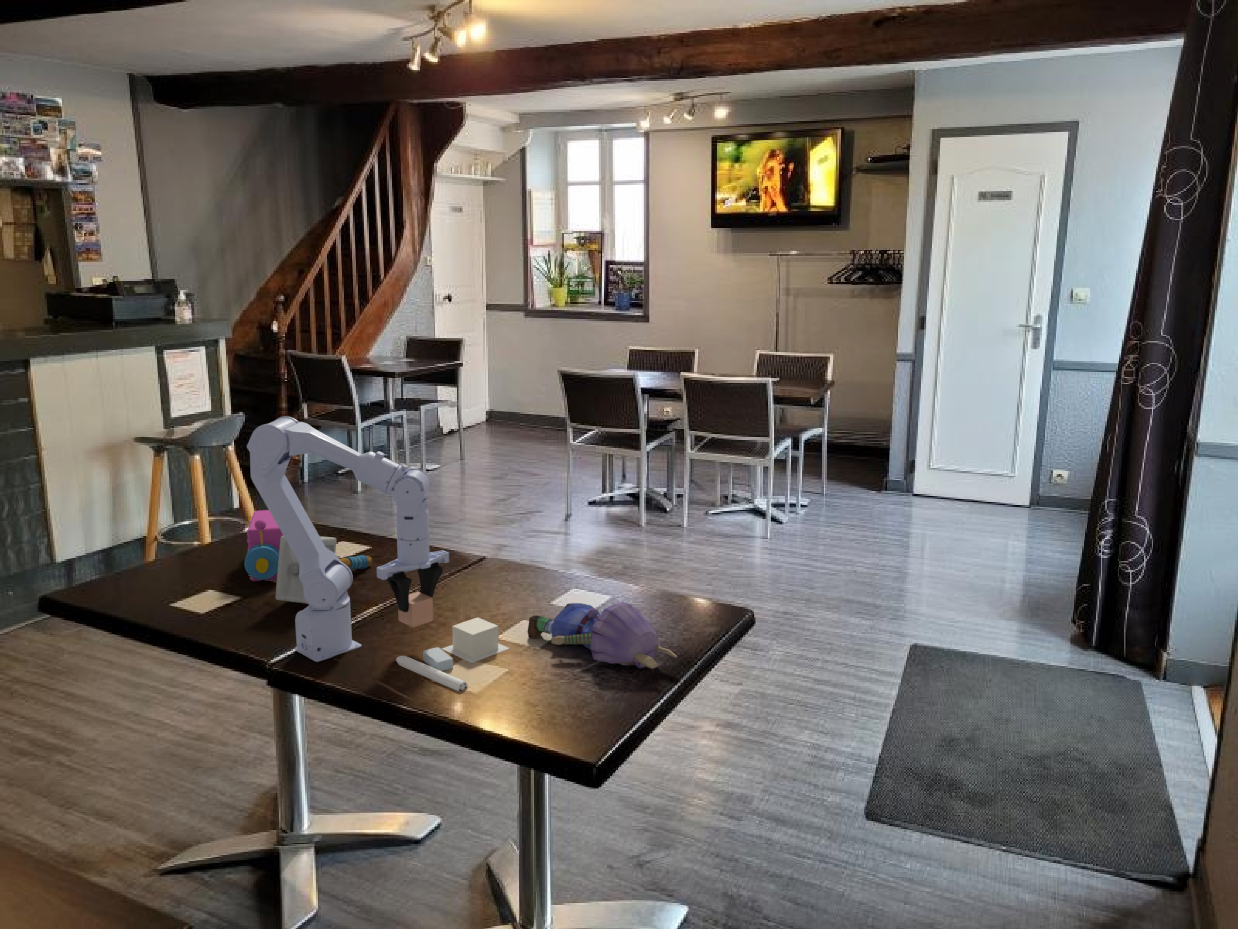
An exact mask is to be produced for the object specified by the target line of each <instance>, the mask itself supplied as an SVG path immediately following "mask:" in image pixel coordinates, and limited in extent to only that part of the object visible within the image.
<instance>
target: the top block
mask: <svg viewBox="0 0 1238 929" xmlns="http://www.w3.org/2000/svg"><path fill="white" fill-rule="evenodd" d="M433 598H434V597H433ZM433 598H432V597H430V596H427V595H425V594H422V593H421V591H415V592H412V593H409V609H408V612H403V611H400V610H399V608H398V607H397V610H398V612H397V613H398V621H399V622H401V623H402V624H405V625H407V626H409V627H410V628H411V627H412V628H415V627H417V626H421V625H425V624H428V623H431V622H434V606H433V603H434V602H433Z"/></svg>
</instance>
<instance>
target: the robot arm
mask: <svg viewBox="0 0 1238 929" xmlns="http://www.w3.org/2000/svg"><path fill="white" fill-rule="evenodd" d="M246 448H247V450H248V451H249V461H250V463H249V464H250V466H249V467H250V469H249V470H250V479H251V480H252V483H253V486H254V487H255V488H256V490H257V491H258V493H259V495H260V497H261V499H262V500H263V502H264V504H265V506H266V507H267V510H269V511H270V513H271V514H272V516H273V518H274V520H275V521H276V523H277V525H278V527H279V528H280V530H281V532H282V534H283V535H284V537H285V539H286V541H287V542H288V544H289V546H290V548H291V549H292V551H293V553H294V555H295V556H296V558H297V560H298V562H299V565H300V567H299V579H300V581H301V582H302V584H303V589H304V597H305V599H306V601H307V602H308V604H307V605H308V606H307V607H305V608H304V609H302V610H299V611H298V612H297V613H296V614H295V618H294V622H295V623H294V625H295V626H294V627H295V638H296V639H295V641H296V646H295V648H294V651H296V652H298V653H299V654H302V655H303V656H305V657H306V658H308V659H309V660H312V661H313V662H315V663H319V662H321V661H325V660H328V659H330V658H333V657H336V656H338V655H342V654H343V653H344V654H345V653H346V652H350V651H352V650H356V649H359V648H362V646H363V645H362V644H361V643H359V642H358V641H355V640H353V637H352V632H353V631H352V620H351V619H352V618H351V616H352V614H351V598H350V595H349V594H348V590H349V589H350V588H351V586H352V584H353V581H354V580H353V579H354V575H353V572H352V570H350V569H349V567H348V566H347V565H345V564H344V563H342V562H341V561H340V560H339V559H340V558H339V557H338V556H337V554H336V552H335V553H334V552H332V551H330V550H328V549H327V548H326V547H325V545H324V543H323V542H322V540H321V538H320V535H319V533H318V531H317V529H316V527H315V526H314V524H313V522H312V521H311V519H310V517H309V515H308V513H307V511H306V510H305V508H304V506H303V505H302V503H301V501H300V499H299V497H298V496H297V494H296V492H295V490H294V488H293V487H292V485H291V483H290V481H289V479H288V478H287V476H286V471H287V468H288V467H289V466H288V465H289V464H290V463H289V462H290V460H291V458H292V457H293V456H299V455H305V454H312V455H315V456H317V457H319V458H322V459H324V460H327V461H330V462H332V463H334V464H336V465H339V466H341V467H344V468H345V469H346V468H347V469H349V470H351V471H352V472H353V475H354V477H355V479H356V481H359V482H361V483H362V484H365V485H367V486H368V487H372V488H373V489H375V490H377V491H380V492H382V493H384V494H385V495H386V494H387V495H389V496H391V498H392V500H393V501H394V503H395V505H396V506H395V507H396V513H395V515H396V546H397V547H396V550H397V551H396V552H397V558H396V559H394V560H391V561H390V562H388V563H385V564H384V565H380V566H377V567H376V578H378V579H380V580H382V581H385V580H386V582H387V583H388V585H389V587H390V588H391V590H392V592H393V595H394V598H395V601H396V605H397V609H398V608H399V610H400V611H403V612H408V609H409V594H410V588H411V585H412V581H413V579H412V578H411V577H407V574H405V573H409V572H413V571H417V574H418V579H419V584H420V585H419V586H420V587H419V588H420V593H422V594H425V595H427V596H430V597H432V598H434V593H435V590H436V587H437V584H438V582H439V580H440V579H441V576H442V575H443V573H444V568H443V566H441V565H439V564H441V563H443V564H447V563H449V562H450V552H449V551H446V550H443V549H442V550H438V551H430V527H429V526H430V525H429V524H430V522H429V519H430V518H429V517H430V516H429V515H430V514H429V509H428V508H429V506H428V501H429V500H428V497H427V495H429V492H430V490H431V479H430V477H429V476H428V475H427V473H425V472H424V471H423V470H421V469H420V468H418V467H411V468H409V465H406V464H402V465H401V464H399V463H397V462H394V461H393V460H391V459H388V458H386V457H385V453H384V452H382V451H379V450H378V451H377V452H373V451H371V450H370V451H368V452H365V453H360V452H358V451H356V450H355V449H353V448H351V447H349V446H347V445H346V444H344V443H342V442H340V441H338V440H336V439H334V438H333V437H330V436H329V435H327V434H325V433H323V432H321V431H320V430H317V429H316V428H314V427H312V426H311V425H310V424H309V423H306V422H303V421H298V420H297V419H295V418H294V417H291V416H280V417H278V418H276V419H275V420H273V421H271V422H269V423H265V424H261V425H260V426H258V427H256V428H255V429H254V430H253V432H252V433H251V435H250V438H249V440H248V443H247V444H246Z"/></svg>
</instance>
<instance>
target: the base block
mask: <svg viewBox="0 0 1238 929" xmlns="http://www.w3.org/2000/svg"><path fill="white" fill-rule="evenodd" d="M451 629H452V631H451V632H452V645H453V649H455V650H457V651H459V652H461V653H464V654H466V655H468V656H470V657H472V658H474V657H477V656H480V655H482V654H485V653H488V652H490V651H493V650H495V649H498V643H499V625H497V624H495V623H492V622H489V621H487V620H485V619H483V618H481V617H475V618H472V619H469V620H466V621H463V622H460V623H457V624H455V625H452V628H451Z"/></svg>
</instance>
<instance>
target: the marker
mask: <svg viewBox="0 0 1238 929" xmlns="http://www.w3.org/2000/svg"><path fill="white" fill-rule="evenodd" d="M395 661H396V662H397V664H398V665H399V666H400V667H403V668H405V669H406V670H409V671H412V672H413V673H416V674H418V675H420V676H423V677H426V678H427V679H428V680H429V679H430V680H431V681H434V682H436V683H439V685H440V684H441V685H443V686H445V687H447V688H450V689H452V690H454V691H456V692H460V691H463V690H465V688H468V687H469V686H468V683H467V682H466V681H465V680H463V679H461V678H458V677H455V676H453V675H451V674H449V673H446V672H444V671H439V670H437V669H435V668H432V667H431V666H429V665H428V664H427V663H423V662H420V661H418V660H416V659H414V658H411V657H410V656H406V655H400V656H398V657H396V659H395Z"/></svg>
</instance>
